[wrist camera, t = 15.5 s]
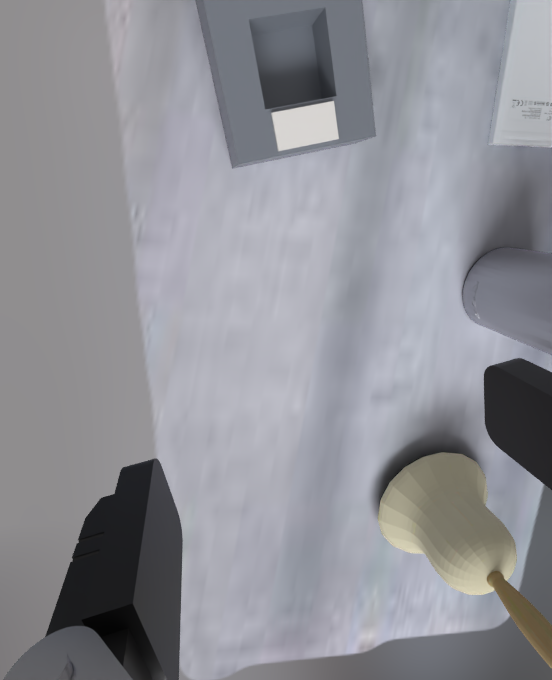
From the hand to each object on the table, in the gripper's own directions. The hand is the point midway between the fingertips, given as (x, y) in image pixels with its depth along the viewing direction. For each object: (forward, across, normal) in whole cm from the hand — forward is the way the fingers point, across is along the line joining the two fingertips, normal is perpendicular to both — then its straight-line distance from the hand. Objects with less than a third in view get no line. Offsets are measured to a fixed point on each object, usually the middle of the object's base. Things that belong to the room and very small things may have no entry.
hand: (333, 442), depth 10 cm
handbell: (+33, -19, +36) cm, 52 cm away
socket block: (+33, -8, -20) cm, 39 cm away
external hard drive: (+34, -34, -11) cm, 49 cm away
